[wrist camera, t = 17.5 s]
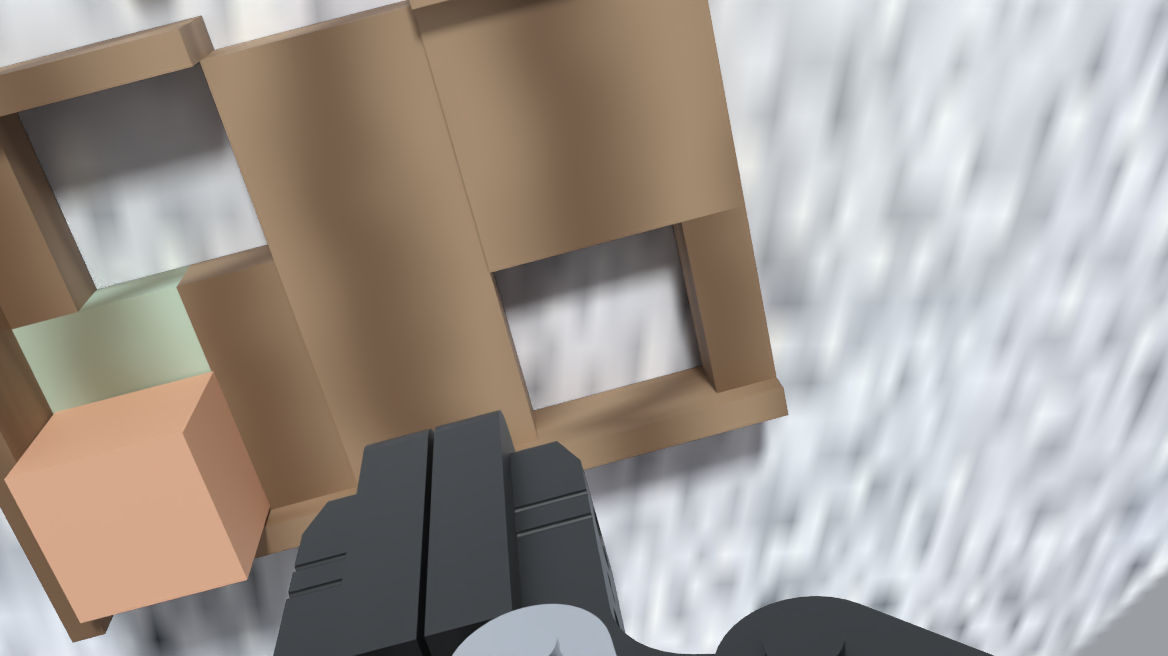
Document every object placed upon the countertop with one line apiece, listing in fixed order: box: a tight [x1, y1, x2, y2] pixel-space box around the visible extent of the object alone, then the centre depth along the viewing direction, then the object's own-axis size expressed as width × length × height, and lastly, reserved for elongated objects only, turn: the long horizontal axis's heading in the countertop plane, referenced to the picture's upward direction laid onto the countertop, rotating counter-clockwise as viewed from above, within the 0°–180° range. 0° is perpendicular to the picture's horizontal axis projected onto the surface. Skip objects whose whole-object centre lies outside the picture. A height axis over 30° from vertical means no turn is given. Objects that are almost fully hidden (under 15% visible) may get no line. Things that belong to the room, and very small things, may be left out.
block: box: [4, 371, 270, 623], centre depth 32 cm, size 5×5×4 cm
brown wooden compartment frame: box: [0, 0, 788, 642], centre depth 32 cm, size 23×16×5 cm
